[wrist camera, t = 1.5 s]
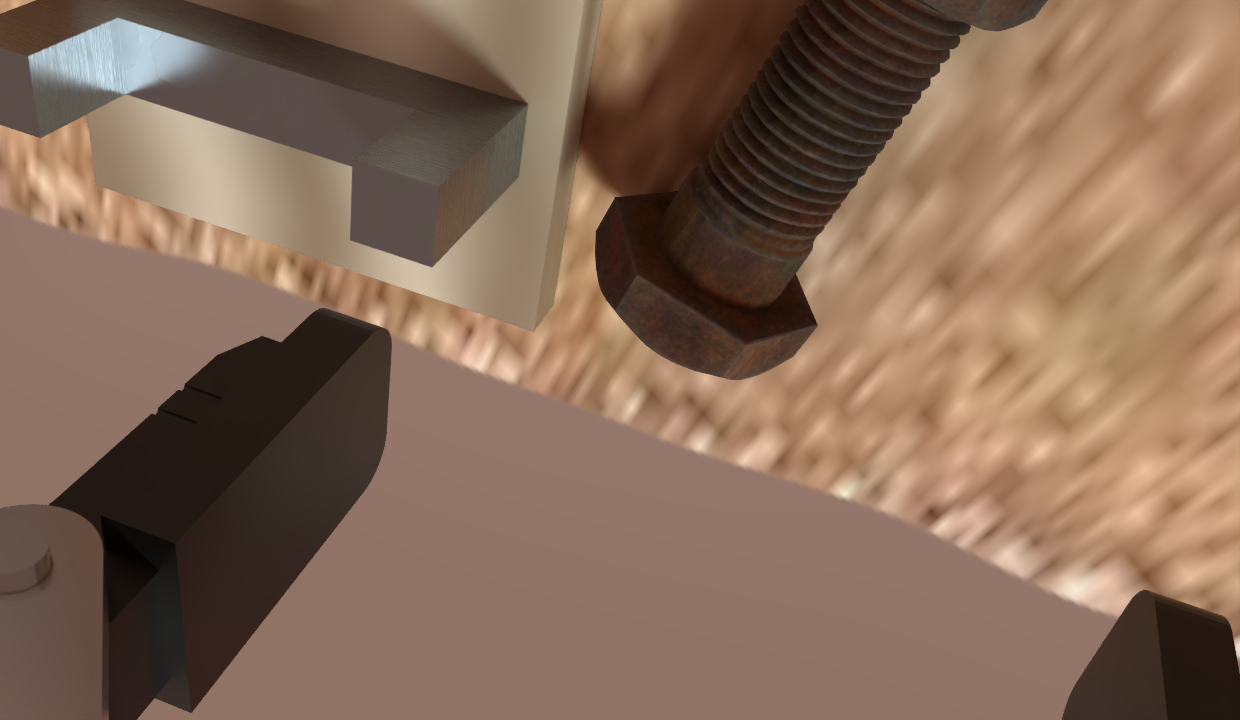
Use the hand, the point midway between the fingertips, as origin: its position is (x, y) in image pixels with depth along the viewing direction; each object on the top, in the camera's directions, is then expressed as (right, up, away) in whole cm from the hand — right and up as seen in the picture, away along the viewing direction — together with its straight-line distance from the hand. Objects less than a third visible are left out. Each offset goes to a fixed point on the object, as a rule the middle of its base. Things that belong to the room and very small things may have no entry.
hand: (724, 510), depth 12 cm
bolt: (+5, +9, +14) cm, 17 cm away
